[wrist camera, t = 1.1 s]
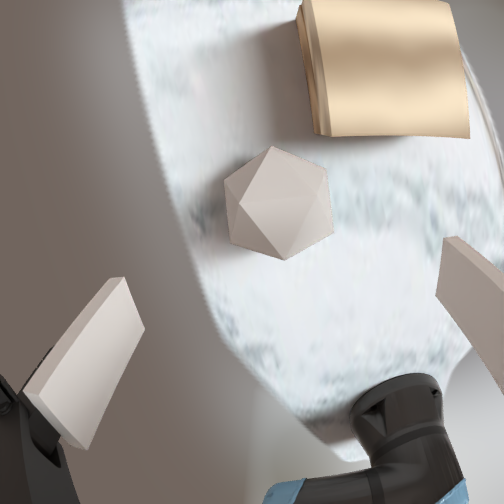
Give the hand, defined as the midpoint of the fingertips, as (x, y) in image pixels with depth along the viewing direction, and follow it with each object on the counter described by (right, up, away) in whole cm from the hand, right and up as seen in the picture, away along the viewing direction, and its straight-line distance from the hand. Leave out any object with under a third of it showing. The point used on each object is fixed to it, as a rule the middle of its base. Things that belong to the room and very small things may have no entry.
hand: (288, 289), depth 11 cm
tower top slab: (+9, +16, +7) cm, 19 cm away
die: (+1, +7, +16) cm, 17 cm away
